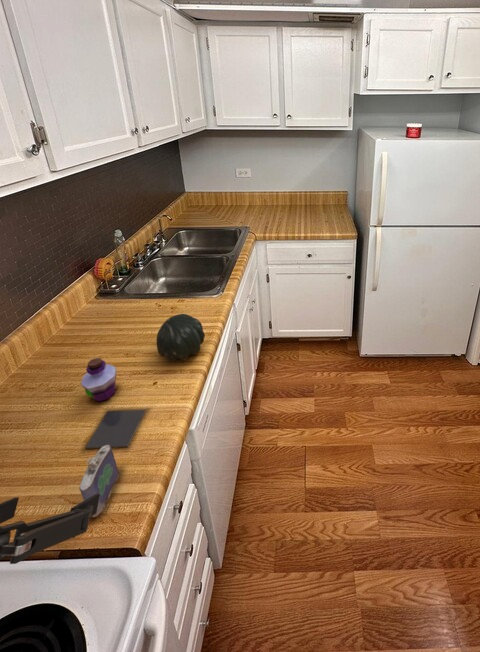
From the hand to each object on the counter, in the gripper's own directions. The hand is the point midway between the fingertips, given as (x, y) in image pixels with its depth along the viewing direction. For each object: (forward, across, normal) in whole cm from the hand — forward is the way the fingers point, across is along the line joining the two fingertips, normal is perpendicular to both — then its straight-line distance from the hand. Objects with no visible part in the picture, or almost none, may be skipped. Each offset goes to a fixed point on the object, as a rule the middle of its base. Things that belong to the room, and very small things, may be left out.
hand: (55, 505), depth 57 cm
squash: (+47, -2, -27) cm, 54 cm away
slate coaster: (+27, +5, -8) cm, 29 cm away
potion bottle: (+35, +14, -15) cm, 41 cm away
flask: (+17, 0, +3) cm, 17 cm away
